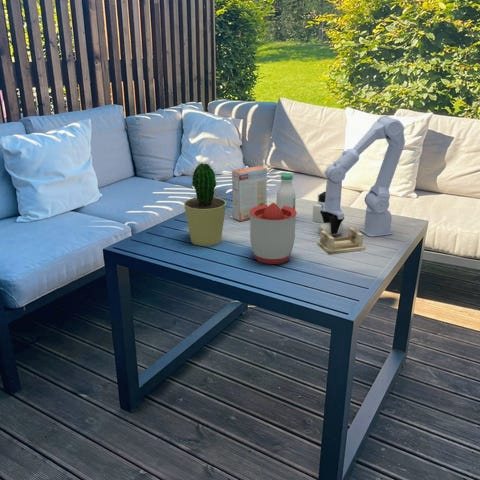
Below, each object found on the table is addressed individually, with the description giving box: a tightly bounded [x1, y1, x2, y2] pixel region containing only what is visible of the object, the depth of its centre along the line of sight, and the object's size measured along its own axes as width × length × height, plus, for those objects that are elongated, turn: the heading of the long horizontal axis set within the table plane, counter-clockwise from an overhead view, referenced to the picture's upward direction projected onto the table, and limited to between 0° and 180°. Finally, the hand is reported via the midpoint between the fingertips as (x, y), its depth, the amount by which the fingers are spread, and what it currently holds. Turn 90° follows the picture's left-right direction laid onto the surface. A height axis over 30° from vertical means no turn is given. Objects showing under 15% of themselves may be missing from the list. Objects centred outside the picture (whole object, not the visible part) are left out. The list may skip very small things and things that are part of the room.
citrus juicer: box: [249, 202, 298, 265], centre depth 172 cm, size 16×17×20 cm
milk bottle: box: [275, 173, 296, 210], centre depth 205 cm, size 8×8×20 cm
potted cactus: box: [183, 162, 227, 247], centre depth 185 cm, size 15×15×30 cm
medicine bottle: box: [312, 190, 334, 224], centre depth 209 cm, size 7×7×12 cm
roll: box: [318, 221, 344, 236], centre depth 194 cm, size 8×5×5 cm, turn 108°
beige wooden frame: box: [316, 226, 366, 255], centre depth 183 cm, size 10×14×6 cm
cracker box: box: [231, 165, 268, 222], centre depth 211 cm, size 14×6×21 cm, turn 124°
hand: (330, 231), depth 195 cm, fingers closed on roll, 5 cm apart
